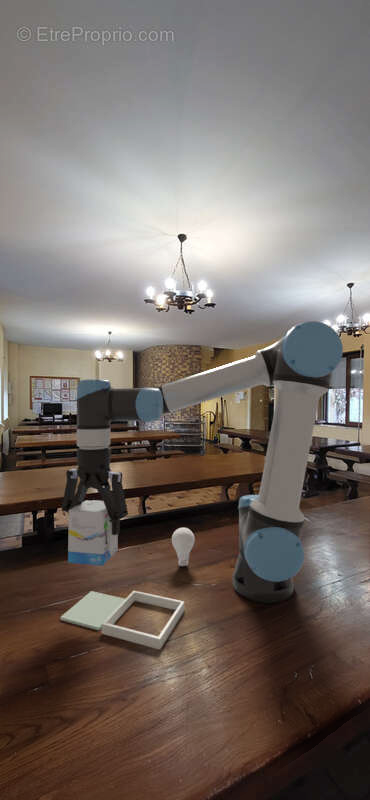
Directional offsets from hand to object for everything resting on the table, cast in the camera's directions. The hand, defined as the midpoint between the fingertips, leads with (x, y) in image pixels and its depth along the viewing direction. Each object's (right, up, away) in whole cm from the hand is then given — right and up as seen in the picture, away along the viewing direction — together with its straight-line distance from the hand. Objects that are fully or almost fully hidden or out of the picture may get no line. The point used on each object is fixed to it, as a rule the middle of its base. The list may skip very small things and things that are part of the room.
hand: (94, 545), depth 78 cm
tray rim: (+12, -15, -4) cm, 20 cm away
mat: (0, -15, 0) cm, 15 cm away
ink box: (0, -3, 0) cm, 3 cm away
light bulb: (+20, -15, +21) cm, 33 cm away
